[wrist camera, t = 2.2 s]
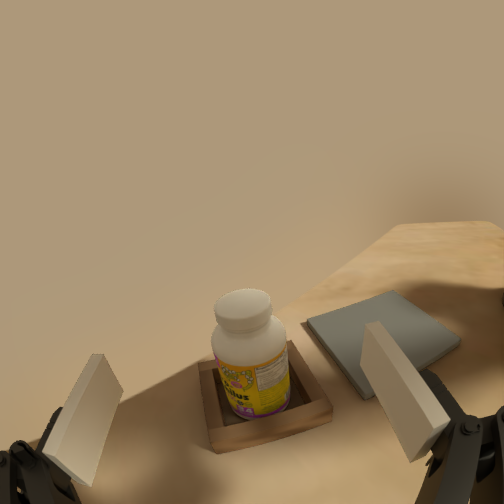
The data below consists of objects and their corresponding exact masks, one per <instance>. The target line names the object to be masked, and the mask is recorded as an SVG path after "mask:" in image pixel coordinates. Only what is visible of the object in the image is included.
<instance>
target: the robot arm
mask: <svg viewBox="0 0 504 504" xmlns="http://www.w3.org/2000/svg"><path fill="white" fill-rule="evenodd" d="M502 302H503V306H504V293H503V297H502ZM360 366H361V368H362V370H363V372H364V373H365V375H366V377H367V379H368V381H369V383H370V385H371V387H372V388H373V390H374V392H375V394H376V396H377V398H378V400H379V402H380V404H381V406H382V408H383V409H384V411H385V413H386V415H387V417H388V419H389V421H390V423H391V425H392V427H393V429H394V431H395V433H396V435H397V437H398V439H399V441H400V443H401V445H402V447H403V449H404V452H405V454H406V456H407V458H408V460H409V462H410V463H411V462H413V461H416V460H418V459H420V458H422V457H424V456H426V454H427V453H428V452H429V451H430V449H431V451H432V453H433V455H432V456H431V458H430V459H429V460H428V461H427V463H426V465H425V466H428V465H429V467H428V470H427V473H426V476H425V479H424V482H423V484H422V487H421V490H420V492H419V495H418V497H417V499H416V502H415V504H468V502H469V498H470V504H504V406H502V407H501V408H500V409H499V410H498V411H497V413H496V414H495V415H491V416H488V417H484V418H479V419H478V418H477V417H476V416H473V415H466V414H465V413H464V411H463V410H462V409H461V407H460V406H459V405H458V403H457V402H456V400H455V399H454V398H453V396H452V395H451V394H450V392H449V391H447V388H446V387H445V385H444V384H442V381H441V380H440V379H439V378H438V376H437V375H436V374H435V373H433V372H431V371H430V370H428V369H425V370H423V371H420V372H417V370H416V369H415V368H414V366H413V365H412V363H411V362H410V361H409V359H408V358H407V357H406V355H405V354H404V353H403V351H402V350H401V349H400V347H399V346H398V345H397V343H396V342H395V341H394V339H393V338H392V337H391V336H390V334H389V333H388V332H387V330H386V329H385V328H384V326H383V325H382V324H381V323H380V321H376V322H372V323H368V324H365V331H364V339H363V347H362V354H361V361H360ZM122 393H123V389H122V387H121V386H120V384H119V382H118V380H117V379H116V377H115V375H114V373H113V371H112V370H111V368H110V366H109V364H108V362H107V360H106V358H105V356H104V354H92V356H91V358H90V359H89V361H88V363H87V364H86V366H85V368H84V370H83V371H82V373H81V375H80V377H79V379H78V380H77V382H76V384H75V386H74V388H73V389H72V392H71V393H70V396H69V397H68V399H67V401H66V403H65V405H64V407H59V408H58V409H57V410H56V411H55V412H54V413H53V415H52V417H51V419H50V423H48V425H47V427H46V428H47V429H45V431H44V433H43V435H42V437H41V439H40V442H39V444H38V446H37V448H36V450H35V451H34V450H33V449H32V448H31V447H30V446H29V445H28V444H27V443H26V442H25V441H22V440H19V441H16V442H14V443H13V444H12V445H11V447H10V449H9V454H8V453H7V452H6V451H0V504H82V503H81V501H80V499H79V497H78V495H77V493H76V490H75V488H74V486H73V484H72V483H71V482H70V480H71V478H72V479H74V480H75V481H76V482H78V483H79V484H83V485H86V486H89V487H92V484H93V480H94V477H95V473H96V470H97V466H98V463H99V460H100V457H101V453H102V450H103V447H104V444H105V441H106V438H107V435H108V432H109V429H110V426H111V423H112V421H113V418H114V415H115V412H116V409H117V407H118V404H119V401H120V398H121V396H122ZM429 463H430V464H429ZM17 487H19V488H20V489H21V493H19V492H18V491H17Z"/></svg>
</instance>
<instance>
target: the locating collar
mask: <svg viewBox="0 0 504 504" xmlns="http://www.w3.org/2000/svg"><path fill="white" fill-rule="evenodd" d="M287 354H288V365H289V374H290V376H291V378H292V380H293V382H294V383H295V385H296V387H297V389H298V391H299V393H300V395H301V397H302V399H303V400H304V402H305V405H302V406H299V407H296V408H293V409H290V410H287V411H283V412H280V413H277V414H273V415H270V416H266V417H263V418H259V419H255V420H251V421H247V422H243V423H239V424H234V425H230V426H226V424H225V420H224V415H223V411H222V407H221V402H220V397H219V393H218V388H217V383H220V382H222V379H221V376H220V373H219V369H218V366H217V362H216V359H215V360H211V361H206V362H201V363H198V367H199V375H200V382H201V390H202V396H203V403H204V410H205V416H206V422H207V428H208V434H209V439H210V443H211V445H212V447H213V449H214V450H215V452H216V454H220V453H225V452H230V451H235V450H239V449H244V448H248V447H252V446H256V445H260V444H264V443H268V442H271V441H275V440H278V439H282V438H285V437H288V436H291V435H294V434H297V433H300V432H303V431H306V430H309V429H312V428H315V427H317V426H320V425H323V424H325V423H328V422H330V421H332V413H333V406H332V404H331V403H330V401H329V400H328V398H327V396H326V395H325V393H324V392H323V390H322V388H321V387H320V385H319V384H318V382H317V381H316V379H315V377H314V376H313V374H312V373H311V371H310V369H309V368H308V366H307V365H306V363H305V361H304V360H303V358H302V356H301V355H300V353H299V352H298V350H297V348H296V347H295V345H294V344H293V342H292V340H290V341H287Z"/></svg>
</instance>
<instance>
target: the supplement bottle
mask: <svg viewBox="0 0 504 504" xmlns="http://www.w3.org/2000/svg"><path fill="white" fill-rule="evenodd" d="M214 311H215V316H216V321H217V323H218V325H217V326H216V328H215V329H214V331H213V334H212V337H211V344H212V349H213V352H214V356H215V359H216V362H217V366H218V369H219V373H220V376H221V379H222V382H223V386H224V389H225V392H226V395H227V398H228V401H229V404H230V406H231V408H232V410H233V411H234V412H235V413H236V414H237V415H239V416H240V417H242V418H244V419H247V420H255V419H259V418H263V417H266V416H270V415H273V414H277V413H280V412H282V411H283V410H284V409H285V408H286V407H287V405H288V403H289V401H290V378H289V365H288V354H287V340H286V331H285V328H284V326H283V324H282V323H281V321H280V320H279V319H278V318H277V317H275V316H273V315H272V306H271V300H270V297H269V295H268V294H267V293H265V292H263V291H261V290H257V289H240V290H235V291H232V292H229V293H227V294H225V295H223V296H222V297H220V298H219V299H218V300H217V301H216V303H215V305H214Z"/></svg>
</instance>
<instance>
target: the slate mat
mask: <svg viewBox="0 0 504 504" xmlns="http://www.w3.org/2000/svg"><path fill="white" fill-rule="evenodd" d="M376 321H380V323H381V324H382V325H383V326H384V328H385V329H386V330H387V332H388V333H389V334H390V336H391V337H392V338H393V339H394V341H395V342H396V343H397V345H398V346H399V347H400V349H401V350H402V351H403V353H404V354H405V355H406V357H407V358H408V359H409V361H410V362H411V363H412V365H413V366H414V368H415V369H416V370H417V372H419V371H420V370H422V369H424V368H425V367H427V366H428V365H430V364H432V363H433V362H435V361H436V360H438V359H439V358H441V357H442V356H444V355H445V354H447V353H448V352H450V351H451V350H453V349H454V348H455V347H457V346H458V345H459V344H460V341H461V338H460V337H458V336H457V335H456V334H454V333H453V332H451V331H450V330H449V329H447V328H446V327H445V326H443V325H442V324H441V323H439V322H438V321H436V320H435V319H434V318H432V317H431V316H430V315H428V314H427V313H425V312H424V311H422V310H421V309H420V308H418V307H417V306H415V305H414V304H413V303H411V302H410V301H408V300H407V299H405V298H404V297H402V296H401V295H400V294H398V293H397V292H395V291H394V290H392V291H389V292H386V293H384V294H381V295H378V296H375V297H373V298H370V299H367V300H364V301H361V302H358V303H355V304H352V305H349V306H346V307H343V308H340V309H337V310H334V311H331V312H328V313H325V314H322V315H318V316H315V317H312V318H309V319H307V325H308V326H309V328H310V329H311V330H312V332H313V333H314V334H315V336H316V337H317V338H318V340H319V341H320V342H321V343H322V345H323V346H324V347H325V349H326V350H327V351H328V353H329V354H330V355H331V357H332V358H333V359H334V361H335V362H336V363H337V365H338V366H339V367H340V369H341V370H342V371H343V373H344V374H345V375H346V376H347V378H348V379H349V380H350V382H351V383H352V384H353V386H354V387H355V388H356V390H357V391H358V392H359V394H360V395H361V396H362V398H363V399H364V400H366V399H369V398H371V397H373V396H375V395H376V394H375V392H374V390H373V388H372V387H371V385H370V383H369V381H368V379H367V377H366V375H365V373H364V372H363V370H362V368H361V366H360V361H361V354H362V347H363V339H364V331H365V324H368V323H372V322H376Z"/></svg>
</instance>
